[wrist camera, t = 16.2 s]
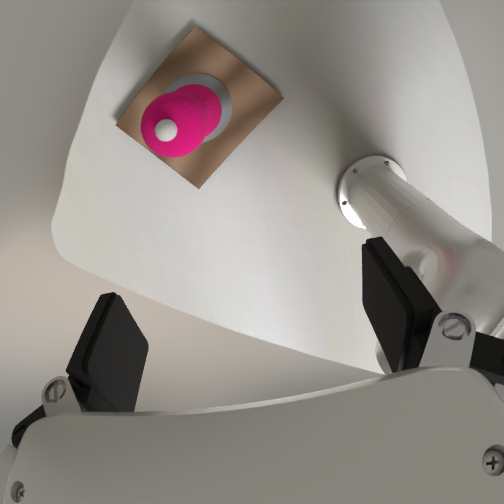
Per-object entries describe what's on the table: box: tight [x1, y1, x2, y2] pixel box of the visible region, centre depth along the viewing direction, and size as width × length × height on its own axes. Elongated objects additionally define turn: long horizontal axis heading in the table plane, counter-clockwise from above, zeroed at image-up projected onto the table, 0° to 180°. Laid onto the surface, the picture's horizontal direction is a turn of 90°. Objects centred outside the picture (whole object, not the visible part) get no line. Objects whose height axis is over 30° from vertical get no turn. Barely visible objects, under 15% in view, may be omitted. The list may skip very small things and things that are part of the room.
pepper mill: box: [141, 84, 222, 158], centre depth 30 cm, size 7×7×20 cm
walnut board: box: [116, 27, 284, 189], centre depth 39 cm, size 16×18×2 cm
